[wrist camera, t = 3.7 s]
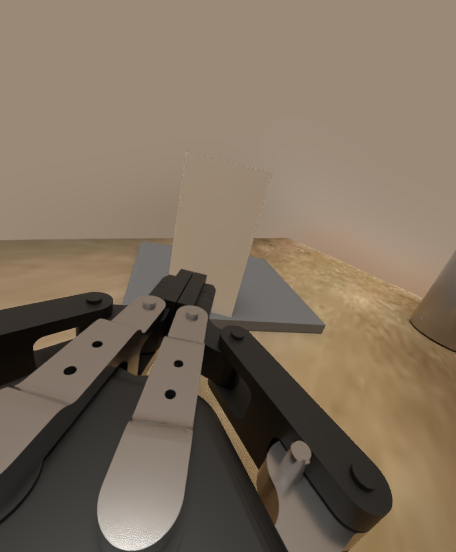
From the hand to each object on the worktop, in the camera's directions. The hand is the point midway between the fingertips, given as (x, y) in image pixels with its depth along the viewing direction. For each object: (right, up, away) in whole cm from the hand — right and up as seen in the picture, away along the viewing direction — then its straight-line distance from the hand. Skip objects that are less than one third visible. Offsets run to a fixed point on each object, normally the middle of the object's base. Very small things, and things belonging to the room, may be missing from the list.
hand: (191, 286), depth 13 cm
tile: (-1, -2, +12) cm, 12 cm away
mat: (0, 0, +20) cm, 20 cm away
